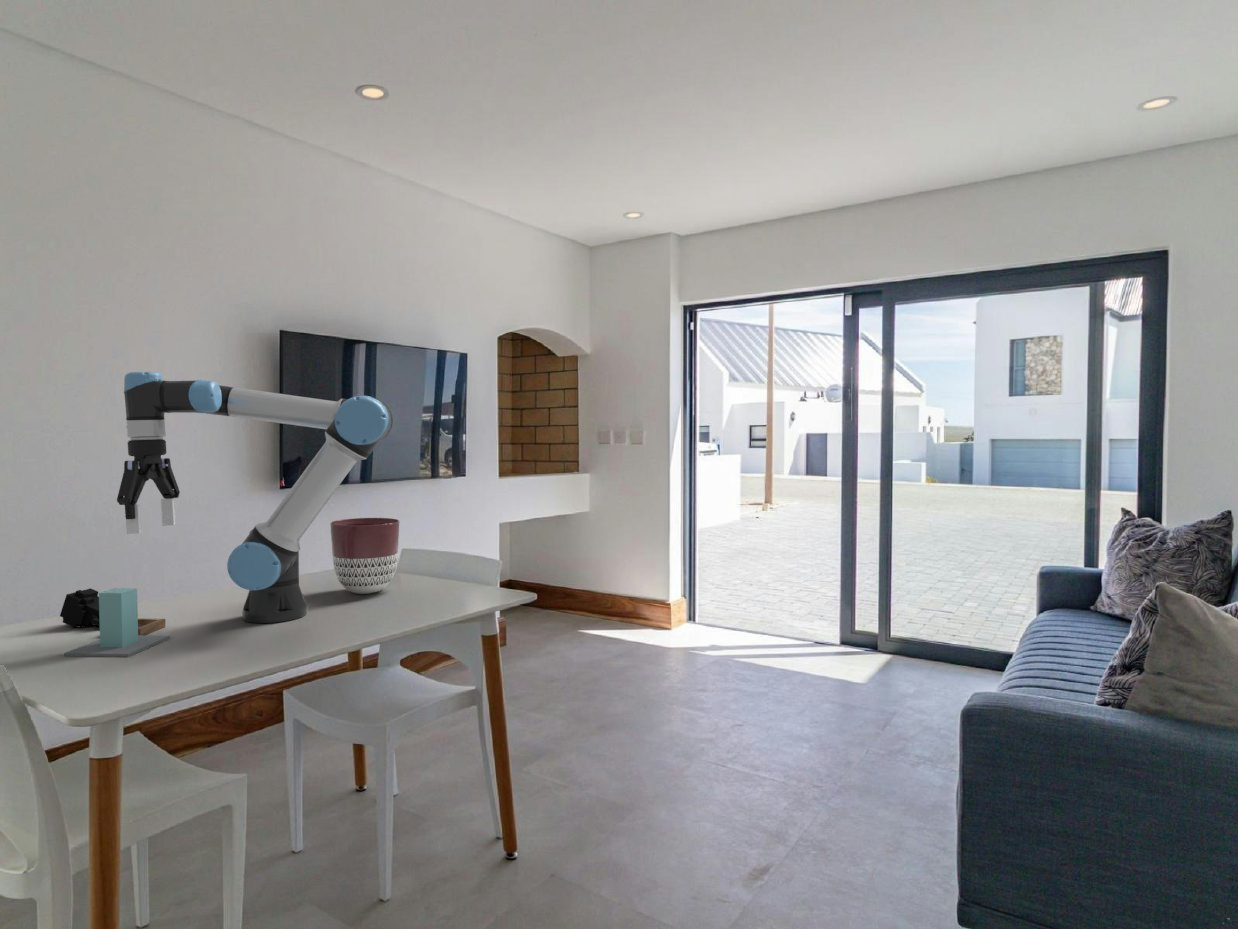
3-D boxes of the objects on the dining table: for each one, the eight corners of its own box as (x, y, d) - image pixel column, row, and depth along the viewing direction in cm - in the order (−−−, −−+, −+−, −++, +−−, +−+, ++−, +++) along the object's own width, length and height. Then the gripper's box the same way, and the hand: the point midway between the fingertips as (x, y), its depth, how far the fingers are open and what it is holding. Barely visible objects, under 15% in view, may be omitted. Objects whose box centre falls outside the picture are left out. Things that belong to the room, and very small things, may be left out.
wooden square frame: (165, 626, 177) (165, 618, 177) (140, 637, 168) (140, 628, 168) (129, 626, 178) (129, 618, 178) (102, 636, 169) (102, 628, 169)
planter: (317, 598, 209) (316, 524, 208) (353, 584, 228) (352, 517, 227) (380, 601, 206) (379, 526, 205) (410, 587, 225) (410, 518, 224)
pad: (170, 638, 168) (170, 635, 168) (128, 656, 154) (128, 654, 154) (111, 637, 168) (111, 634, 168) (63, 655, 154) (63, 653, 154)
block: (138, 640, 163) (137, 588, 163) (122, 647, 158) (121, 593, 158) (116, 640, 163) (115, 588, 163) (100, 647, 158) (98, 593, 158)
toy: (116, 615, 172) (63, 591, 174) (107, 645, 173) (54, 621, 174) (146, 605, 181) (96, 583, 183) (137, 635, 182) (86, 612, 184)
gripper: (161, 438, 181) (166, 522, 182) (93, 440, 156) (99, 537, 157) (192, 437, 181) (197, 521, 182) (129, 439, 156) (135, 536, 157)
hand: (152, 529), depth 169 cm, fingers open, 13 cm apart
